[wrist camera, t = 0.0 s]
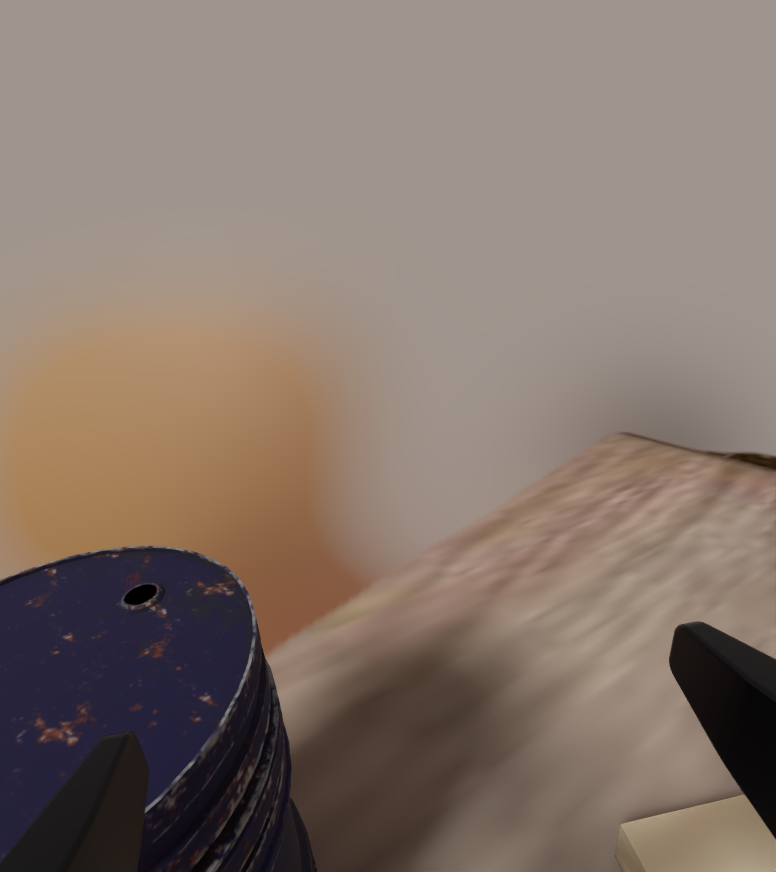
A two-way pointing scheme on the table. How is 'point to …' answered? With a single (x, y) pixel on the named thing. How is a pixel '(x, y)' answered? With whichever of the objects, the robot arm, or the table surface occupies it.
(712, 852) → the subfloor panel
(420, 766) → the table surface
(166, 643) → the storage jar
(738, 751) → the robot arm
